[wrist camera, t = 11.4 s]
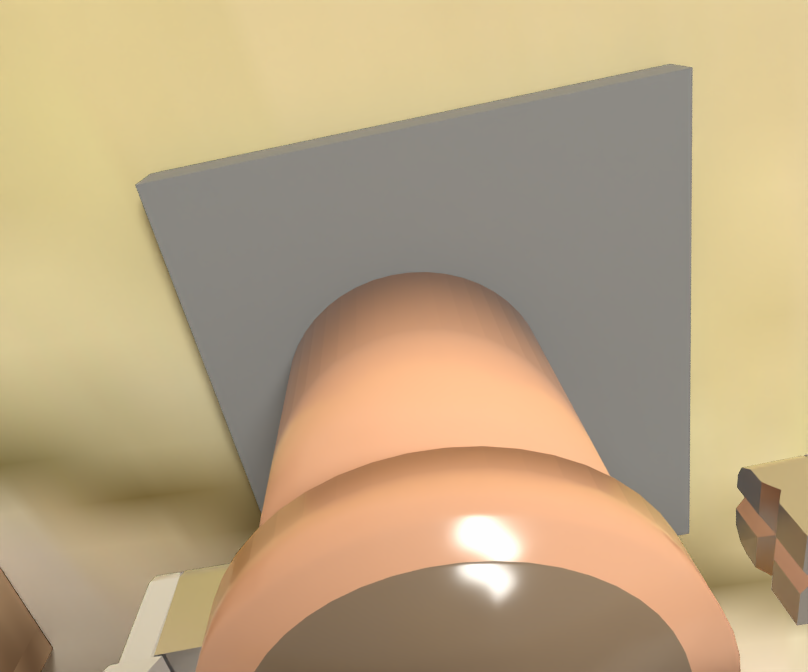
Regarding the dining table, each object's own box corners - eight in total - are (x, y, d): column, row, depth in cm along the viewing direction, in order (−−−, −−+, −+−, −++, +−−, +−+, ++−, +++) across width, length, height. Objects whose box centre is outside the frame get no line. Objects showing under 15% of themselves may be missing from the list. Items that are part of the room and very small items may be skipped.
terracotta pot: (231, 291, 14) (89, 593, 7) (545, 224, 14) (754, 461, 6) (314, 527, 17) (280, 910, 10) (573, 475, 17) (735, 829, 9)
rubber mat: (150, 173, 14) (135, 185, 13) (670, 64, 13) (692, 67, 12) (299, 577, 19) (296, 605, 18) (673, 508, 19) (689, 533, 18)
